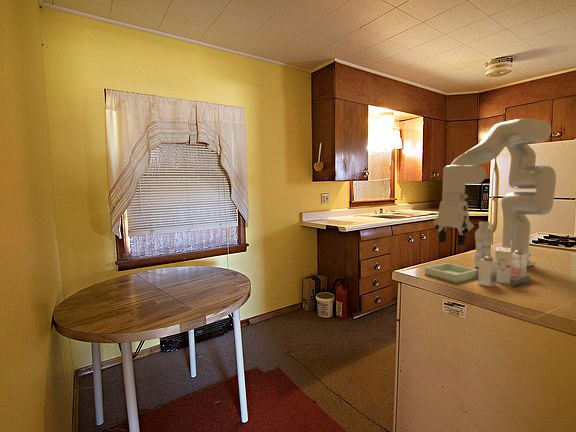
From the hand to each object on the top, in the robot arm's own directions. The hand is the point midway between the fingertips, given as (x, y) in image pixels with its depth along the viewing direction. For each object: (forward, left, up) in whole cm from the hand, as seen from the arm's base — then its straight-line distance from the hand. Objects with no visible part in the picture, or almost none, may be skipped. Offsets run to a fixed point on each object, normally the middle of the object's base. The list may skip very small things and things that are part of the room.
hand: (451, 243), depth 116 cm
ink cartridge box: (-11, +13, -13) cm, 22 cm away
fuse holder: (-11, +13, -13) cm, 22 cm away
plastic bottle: (-21, 0, -13) cm, 25 cm away
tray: (0, 0, -13) cm, 13 cm away
